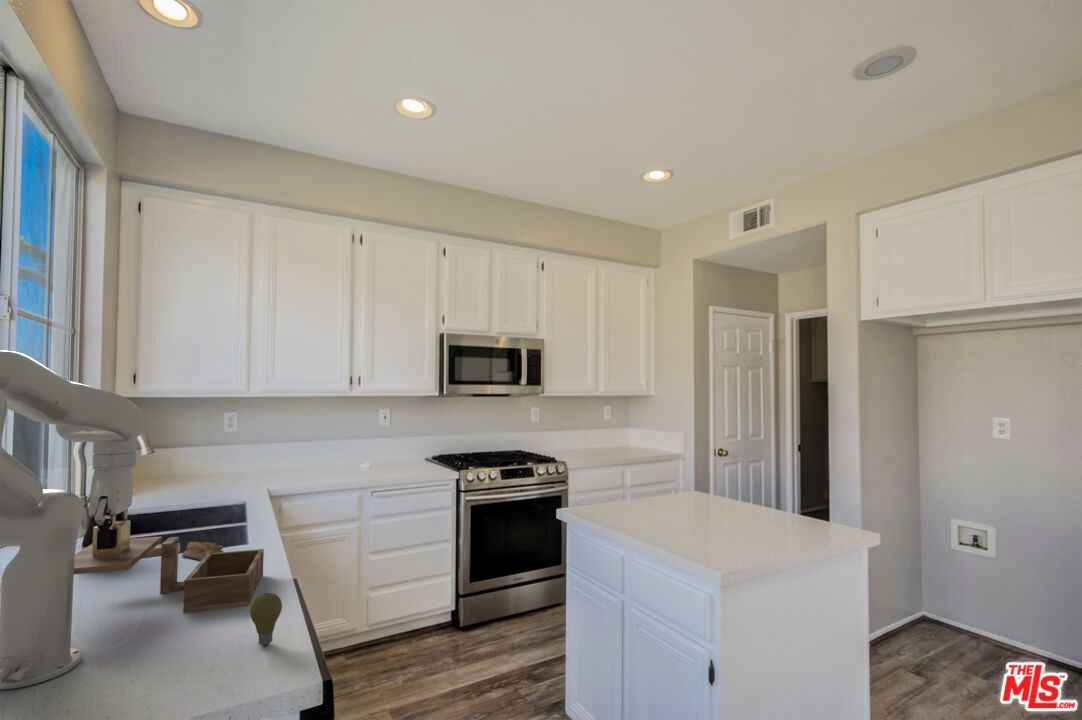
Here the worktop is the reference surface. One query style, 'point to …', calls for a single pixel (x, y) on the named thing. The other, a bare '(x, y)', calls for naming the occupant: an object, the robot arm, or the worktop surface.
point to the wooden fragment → (201, 549)
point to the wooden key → (157, 549)
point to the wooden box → (213, 578)
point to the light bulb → (265, 615)
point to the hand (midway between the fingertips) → (111, 543)
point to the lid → (114, 552)
